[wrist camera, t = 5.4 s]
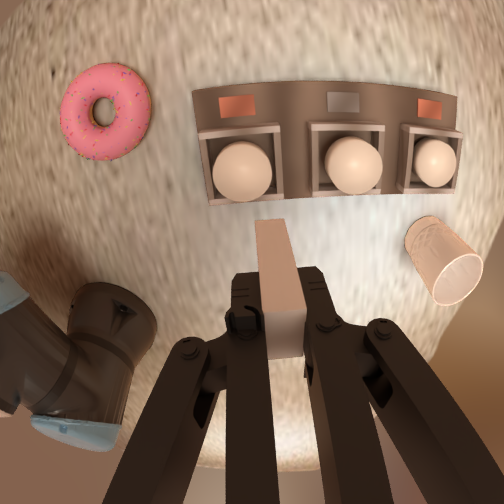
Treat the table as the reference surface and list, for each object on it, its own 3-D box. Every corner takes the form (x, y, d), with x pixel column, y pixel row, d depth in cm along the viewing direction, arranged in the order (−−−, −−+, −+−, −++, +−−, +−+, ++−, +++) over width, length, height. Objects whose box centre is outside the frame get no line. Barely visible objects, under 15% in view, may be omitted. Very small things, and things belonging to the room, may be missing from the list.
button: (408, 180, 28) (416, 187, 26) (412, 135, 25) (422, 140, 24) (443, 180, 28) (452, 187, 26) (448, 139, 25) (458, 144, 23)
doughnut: (69, 72, 24) (49, 75, 20) (156, 56, 24) (143, 54, 21) (76, 158, 30) (58, 170, 27) (158, 152, 30) (147, 163, 27)
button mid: (324, 187, 27) (329, 195, 26) (324, 136, 24) (330, 141, 23) (372, 185, 27) (380, 193, 25) (375, 136, 24) (384, 142, 23)
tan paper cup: (399, 219, 35) (435, 264, 27) (446, 206, 34) (487, 246, 26) (400, 265, 39) (429, 313, 31) (444, 251, 38) (477, 294, 30)
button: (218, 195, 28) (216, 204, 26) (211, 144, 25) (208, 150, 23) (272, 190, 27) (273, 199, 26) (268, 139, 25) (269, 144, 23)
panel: (212, 194, 33) (206, 214, 29) (197, 89, 27) (187, 92, 22) (434, 183, 32) (455, 200, 28) (442, 93, 25) (467, 99, 21)
